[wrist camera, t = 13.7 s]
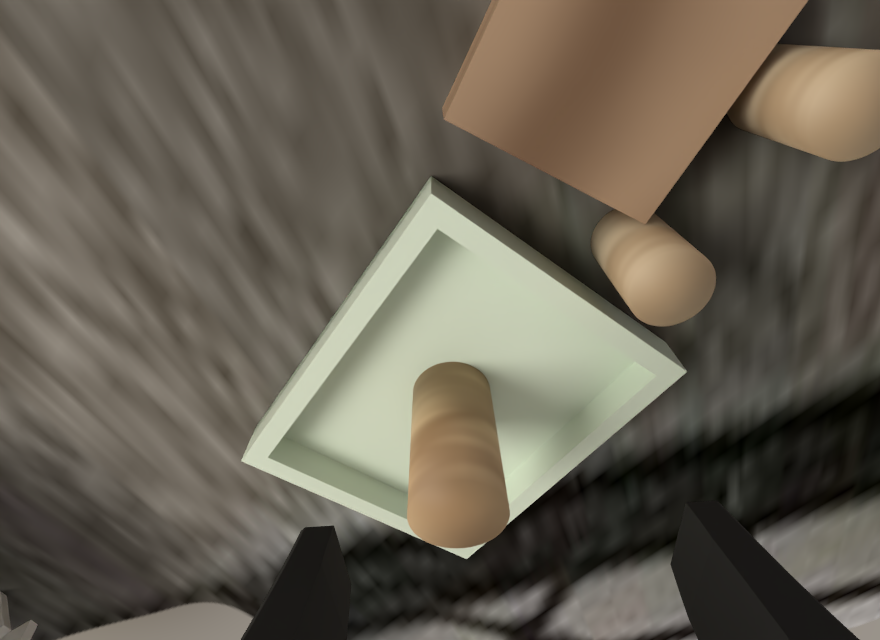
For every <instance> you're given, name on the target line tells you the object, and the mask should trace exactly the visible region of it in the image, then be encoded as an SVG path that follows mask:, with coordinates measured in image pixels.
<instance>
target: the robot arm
mask: <svg viewBox="0 0 880 640" xmlns="http://www.w3.org/2000/svg"><path fill="white" fill-rule="evenodd" d="M671 567H672V570H673V573H674V576H675V579H676V582H677V585H678V589H679V592H680V595H681V598H682V600H683V603H684V606H685V609H686V612H687V615H688V618H689V620H690V622H691V625H692V627H693V629H694V631H695V634H696V636H697V638H698V640H859V639H858V638H857V637H856V636H855V635H854V634H853V633H851V632H850V631H849V630H848V629H847V628H846V627H845V626H844V625H843V624H842V623H841V622H840V621H838V620H837V619H836V618H835V617H834V616H833V615H832V614H831V613H830V612H829V611H828V610H827V609H826V608H825V607H824V606H823V605H822V604H820V603H819V602H818V601H817V600H816V599H815V598H814V597H813V596H812V595H811V594H810V593H809V592H808V591H807V590H806V589H805V588H804V587H803V586H802V585H801V584H800V583H798V582H797V581H796V580H795V579H794V578H793V577H792V576H791V575H790V574H789V573H788V572H787V571H786V570H785V569H784V568H783V567H782V566H781V565H780V564H779V563H778V562H777V561H776V560H775V559H774V558H773V557H772V556H771V555H770V554H769V553H768V552H767V551H766V550H765V549H764V548H763V547H762V546H761V545H760V544H759V543H758V542H757V541H756V540H755V539H754V538H753V537H752V536H751V535H750V534H749V532H748V531H747V530H746V529H745V528H744V527H743V526H742V525H741V524H740V523H739V522H738V521H737V520H736V519H735V518H734V517H733V516H732V515H731V514H730V513H729V512H728V511H727V510H726V509H725V508H724V507H723V506H722V505H721V504H720V503H719V502H718V501H717V500H716V501H701V502H686V504H685V508H684V512H683V516H682V520H681V524H680V528H679V532H678V536H677V541H676V545H675V549H674V553H673V557H672V561H671ZM350 593H351V582H350V578H349V575H348V572H347V568H346V565H345V562H344V558H343V555H342V552H341V548H340V545H339V541H338V538H337V535H336V531H335V528H334V526H321V527H306V528H304V529H303V530H302V531H301V532H300V534H299V536H298V538H297V540H296V542H295V544H294V546H293V548H292V550H291V552H290V553H289V555H288V557H287V559H286V561H285V563H284V565H283V567H282V569H281V570H280V572H279V574H278V576H277V578H276V580H275V581H274V583H273V585H272V587H271V589H270V590H269V592H268V594H267V596H266V598H265V599H264V601H263V603H262V604H261V606H260V608H259V610H258V611H257V613H256V615H255V616H254V618H253V620H252V622H251V623H250V625H249V627H248V628H247V630H246V632H245V633H244V635H243V637H242V638H241V640H346V639H347V629H348V618H349V606H350Z"/></svg>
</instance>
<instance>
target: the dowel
mask: <svg viewBox="0 0 880 640" xmlns="http://www.w3.org/2000/svg"><path fill="white" fill-rule="evenodd" d="M509 517H510V509H509V502H508V496H507V490H506V484H505V478H504V471H503V465H502V459H501V453H500V447H499V440H498V434H497V428H496V422H495V416H494V409H493V403H492V397H491V391H490V385H489V382H488V380H487V378H486V377H485V376H484V374H483V373H482V372H481V371H480V370H478V369H477V368H475V367H473V366H471V365H469V364H466V363H461V362H444V363H439V364H436V365H434V366H432V367H430V368H428V369H427V370H425V371H424V372H423V373H422V374H421V375H420V376H419V377H418V378H417V380H416V382H415V384H414V388H413V403H412V423H411V443H410V464H409V484H408V505H407V521H408V524H409V526H410V528H411V530H412V531H413V532H414V533H415V534H416V535H417V536H418V537H419V538H421V539H422V540H424V541H426V542H428V543H430V544H433V545H436V546H440V547H445V548H468V547H473V546H477V545H481V544H483V543H486V542H488V541H490V540H492V539H493V538H495V537H496V536H498V535H499V534H500V533H501V532H502V531H503V530H504V528H505V527H506V525H507V523H508V521H509Z"/></svg>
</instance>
